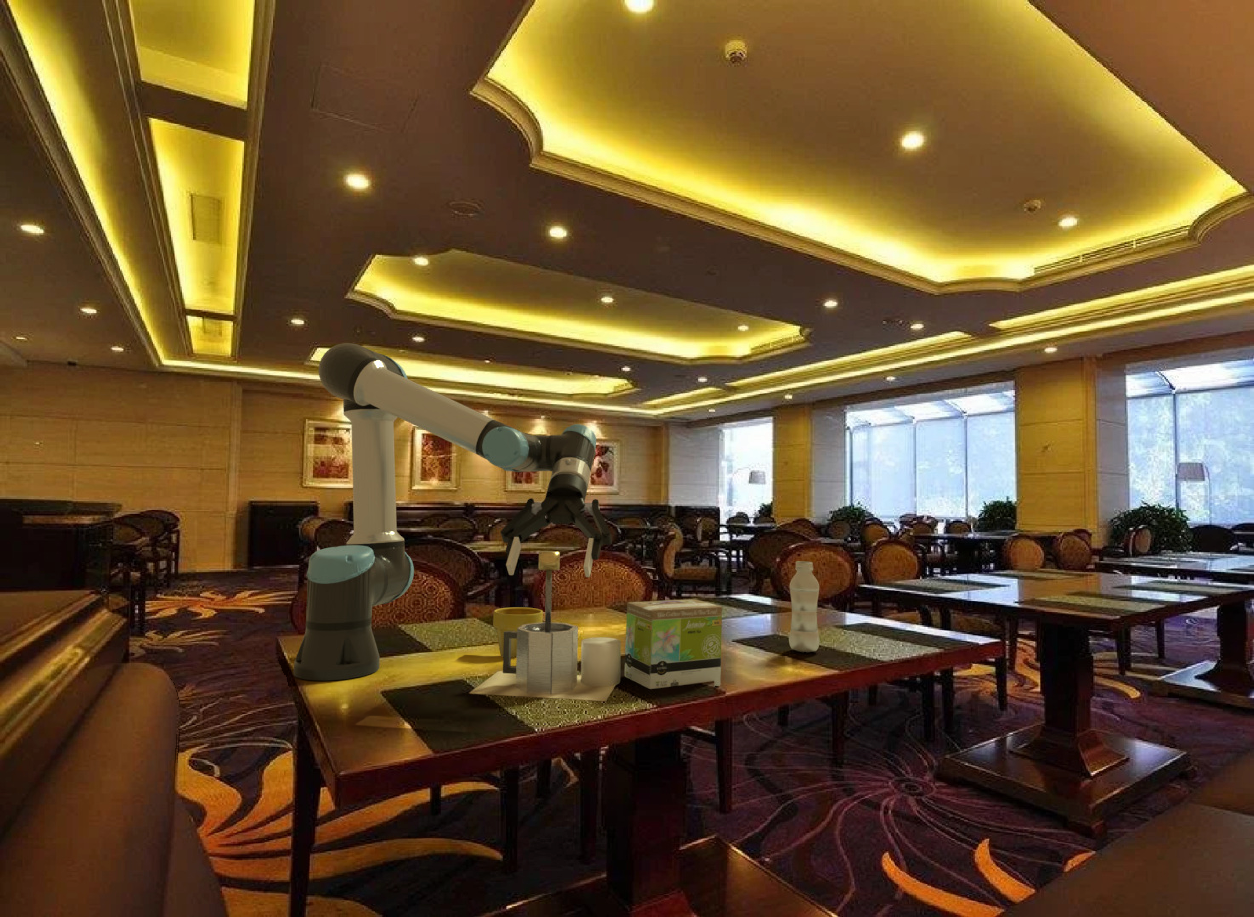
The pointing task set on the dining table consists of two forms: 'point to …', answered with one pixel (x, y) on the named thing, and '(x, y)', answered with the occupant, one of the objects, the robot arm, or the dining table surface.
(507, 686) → the serving board
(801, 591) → the plastic bottle
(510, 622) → the plant pot
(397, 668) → the dining table surface
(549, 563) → the plunger
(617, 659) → the white cylindrical canister
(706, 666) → the tea box
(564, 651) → the silver faceted mug
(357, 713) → the dining table surface
